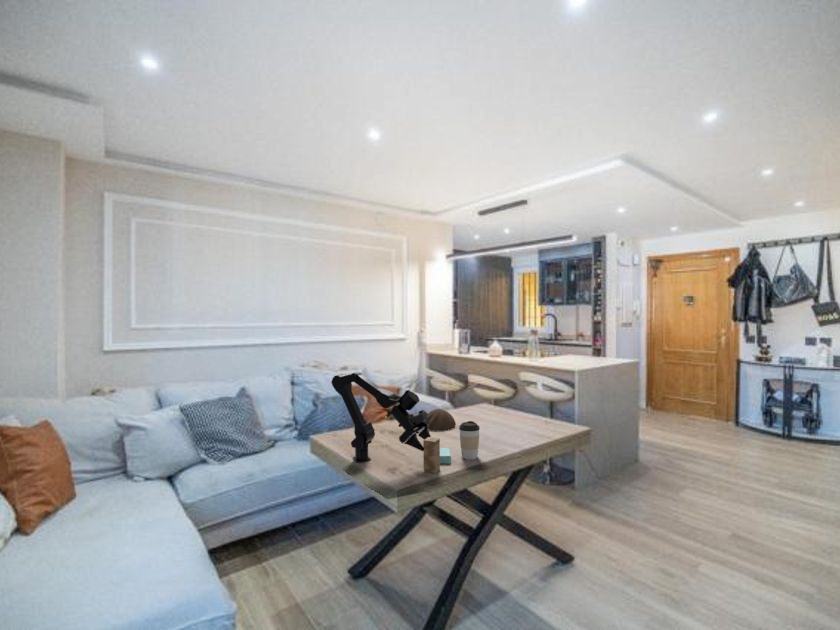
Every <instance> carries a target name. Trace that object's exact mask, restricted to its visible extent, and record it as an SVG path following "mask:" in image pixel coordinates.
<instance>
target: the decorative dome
mask: <svg viewBox="0 0 840 630" xmlns="http://www.w3.org/2000/svg"><path fill="white" fill-rule="evenodd" d="M427 413H428V414H427V418H428V419H425V420H427V421H428V422H429V424H428V425H429V429H430V430H431V431H434V430H435V432H438V431H437V430H439V431H445V430H446V431H449V430H453V429H452V428H454V429H455V428H456V426H457V424H456V419H454V417H453V415H452V414H451V413H450V412H448V411H446V410H444V409H442V408H441V409H440V408H436V409H433V410H431V411H429V412H427ZM428 425H427V426H428ZM455 425H456V426H455ZM448 429H449V430H448ZM430 430H429V431H430Z"/></svg>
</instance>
